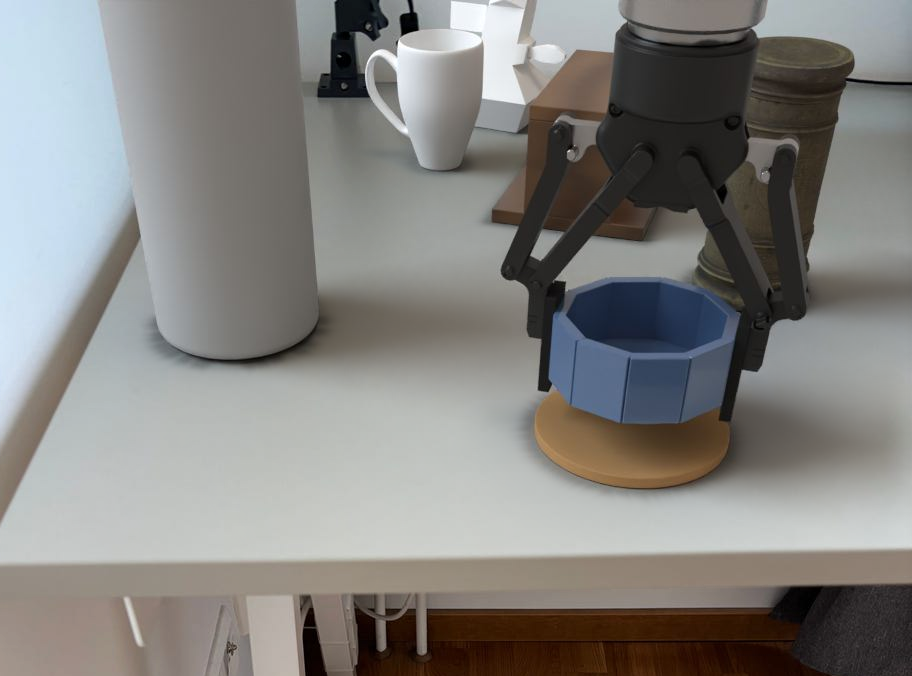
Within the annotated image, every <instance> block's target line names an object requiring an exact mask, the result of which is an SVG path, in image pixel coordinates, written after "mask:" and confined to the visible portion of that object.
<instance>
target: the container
mask: <svg viewBox="0 0 912 676" xmlns="http://www.w3.org/2000/svg"><path fill="white" fill-rule="evenodd" d="M758 38H759V40H760V44H759V50H758V55H757V61H756V66H755V71H754V77H753V82H752V88H751V93H750V99H749V104H748V110H747V115H746V123H747V129H748V132H749V134H750V137H753V138H763V139H773V140H779V139H780V138H781V137H782V136H784V135H786V134H793V135H795V136H796V137H798V139H799V141H800V147H799V152H798V156H797V161H796V166H795V170H794V175H793V181H794V188H795V195H796V202H797V208H798V215H799V222H800V229H801V236H802V243H803V250H804V257H805V264H806V270H807V274H808V273H809V271H810V262H809V259H808V253H809V249H810V246H811V240H812V238H813V236H814V233H815V223H814V222H815V218H816V213H817V209H818V205H819V199H820V196H821V195H820V194H821V190H822V185H823V181H824V177H825V173H826V169H827V165H828V161H829V157H830V151H831V147H832V143H833V140H834V135H835V130H836V125H837V124H838V122H839V120H840V118H839V108H840V104H841V100H842V99H841V98H842V95H843V93H844V90H845V89H846V88H847V85H848V83H847V79H846V78H848V77H850V76H851V74H852V73H853V71H854V70H855V65H856V59H855V54H854V52H853V51H852V50H851V49H850V48H849V47H847V46H845V45H843V44H840V43H837V42H834V41H830V40H826V39H822V38H821V39H820V38H814V37H807V36H789V35H788V36H787V35H785V36H781V35H779V36H776V35H775V36H763V37H758ZM726 182H727V184H728V187H729V189H730V191H731V193H732V196H733V201H734V205H735V207H736V210H737V212H738V214H739V216H740V218H741V221H742V223H743V225H744V227H745V229H746V232H747V234H748V236H749V238H750V240H751V243H752V245H753V247H754V249H755V251H756V254H757V256H758V258H759V260H760V262H761V265H762V267H763V269H764V271H765V273H766V276H767V278H768V280H769V282H770V284H771V287H772V289H773V291H774V292H778V291H782V290H781V283H780V277H779V271H778V265H777V258H776V252H775V246H774V240H773V233H772V227H771V221H770V215H769V208H768V199H767V193H768V184H765V183H761V182H760V181H759V180H758V179H757V177H756V169H755V167H754V165H753V164H752V163H750V162H747V161H744V163H743V164H742V165H741V166H740V167H739V168H738V169H737V170H736V171H735V172H734V173H733V174H732V175H731V176H730V178H729V179H728V180H727V181H726ZM696 261H697V265H696V266H695V268H694V270H693V273H692V279H691V280H692V285H694V286H697V287H701V288H704V289H708V290H711V291H712V292H714V293H716V294H717V295H718V296H719V297H720V298H721V299H723V300H724V301H725V302H726V303H727V304H728V305H730V306H731V307H732V308H733V309H734V310H735V311H736V312H741V311H742V307H746V306H745V304H744V302H743V300H742V298H741V296H740V294H739V292H738V289H737V287H736V285H735V283H734V281H733V279H732V277H731V275H730V272H729V270H728V268H727V266H726V264H725V262H724V260H723V258H722V256H721V253H720V251H719V249H718V247H717V245H716V243H715V241H714V239H713V236H712V234H711V232H710V230H709V229H707V228H706V235H705V240H704V245H703V246H702V248H701V250H699V252H698V254H697V258H696Z"/></svg>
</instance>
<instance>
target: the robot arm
mask: <svg viewBox="0 0 912 676" xmlns="http://www.w3.org/2000/svg"><path fill="white" fill-rule="evenodd" d="M768 1H769V0H618V5H617V10H618V12H619V14H620V16H621V17H622V18H623V19H624V20H625V21H626V22H624V23H623V24H622V25H621V26H620V28H619V29H618V30H617V31H616V32H615V36H614V44H613V53H614V54H613V63H612V73H611V83H610V92H609V102H608V108H607V112H606V115H605V117H604V119H603V120H602V122H598V121H589V120H580V119H578V118H577V116H576V115H575V114H574V113H573V112H570V111H566V112H563V113H562V114H561V115H560V116H559V118H558V119H557V120H556V121H555V123H554V124H553V126H552V127H551V128H550V130H549V133H548V142H547V155H546V165H545V168H544V170H543V172H542V174H541V177H540V179H539V181H538V184H537V186H536V188H535V191H534V193H533V195H532V197H531V200H530V202H529V204H528V207H527V209H526V211H525V213H524V216H523V218H522V220H521V223H520V225H518V228H517V230H516V232H515V235H514V237H513V239H512V241H511V244H510V246H509V248H508V250H507V252H506V255H505V257H504V259H503V261H502V264H501V267H500V269H499V271H500V275H501V276H502V278H503V279H505V280H506V281H510V282H511V281H512V282H513V281H516V282H518V283H519V284H521V285H523V286H524V287H525V288H526V290H527V292H528V299H527V301H528V302H527V316H526V333H527V336H528V338H530V339H536V340H537V339H538V340H540V351H539V352H540V353H539V365H538V366H539V367H538V380H537V391H538V392H543V393H550V390H551V388H552V386H553V384H552V383H551V381H550V380H549V364H550V351H551V338H552V324H553V315H554V313H555V312H556V310H557V308H558V306H559V304H560V302H561V301H562V299H563V297H564V295H565V293H566V288H567V281H564V280H556V279H557V278H558V276H560V274H561V273H562V272H563V270H565V268H566V267H568V265H569V264H570V262H571V261H572V260H573V259H574V258H575V257H576V255H577V254H578V253H579V252H580V250H582V249H583V247H584V246H585V245H586V243H587V242H588V241H589V240H590V239H591V238H592V236H593V234H594V233H595V232H596V230H597V229H598V228H599V227H600V226H601V224H602V223H603V222H604V221H605V220H606V219H607V217H609V216H610V215H611V214H612V213H613V211H614V210H615V209H616V208H617V207H618V206H619V204H620V203H621V202H622V201H623V200H624V199H625V198H626V199H628V200H629V201H630V202H632V203H634V207H639V208H653V207H657V208H660V207H661V208H664V209H666V210H669V211H672V212H674V213H681V214H688V212H689V211H691V210H695V209H696V212H697V213H698V215H699V218H700V219H701V221H702V223H703V226H704V227H705V228H706V230H707V229H709V230H710V232H711V234H712V236H713V239H714V241H715V243H716V245H717V247H718V249H719V251H720V253H721V256H722V258H723V260H724V262H725V264H726V266H727V268H728V270H729V272H730V275H731V277H732V279H733V281H734V283H735V285H736V287H737V289H738V292H739V294H740V296H741V298H742V300H743V302H744V304H745V306H746V307H742V311H740V319H739V322H738V326H737V331H736V336H735V343H734V348H733V353H732V358H731V363H730V368H729V373H728V378H727V383H726V388H725V393H724V398H723V403H722V405H721V406H720V410H719V411H720V415H719V420H718V421H724V422H727V423H731V420H732V417H733V413H734V409H735V405H736V401H737V396H738V391H739V385H740V381H741V377H742V373H743V372H742V371H746V372H747V371H748V372H753V373H758V372H759V371H760V369H761V368H762V366H763V363H764V359H765V354H766V350H767V346H768V345H767V344H768V342H769V337H770V333H771V329H772V328H773V326H774V325H775V324H776V323H777V322H780V321H783V320H791V321H793V322H795V321H797V322H799V321H800V320H803V318H805V317H806V315H807V312H808V305H809V299H810V293H811V292H810V291H811V290H810V285H809V278H808V273H807V270H806V264H805V257H804V250H803V243H802V236H801V229H800V222H799V215H798V208H797V202H796V195H795V188H794V181H793V175H794V170H795V166H796V161H797V156H798V152H799V147H800V141H799V139H798V137H796V136H795V135H793V134H786V135H784V136H782V137H781V138H780V139H779V140H773V139H763V138H753V137H750V134H749V132H748V129H747V123H746V115H747V110H748V104H749V99H750V93H751V88H752V82H753V77H754V71H755V66H756V61H757V55H758V50H759V44H760V40H759V38H760V37H758V34H757V32H756V31H755V30H754V29H753V28H754V27H756V26H757V25H759V24H760V23H761V22H762V21H763V20H764V19H765V17H766V13H767V12H766V11H767V8H768V7H767V6H768V3H769V2H768ZM591 145H596V146H597V148H598V150H599V152H600V154H601V156H602V158H603V159H604V161H605V163H606V165H607V167H608V169H609V171H610V172H611V174H612V175H611V176H610V177H609V179H608V180H607V181H606V182H605V184H604V185H603V186H602V188H601V189H600V190H599V192H598V193H597V194H596V195H595V196H594V198H593V199H592V200H591V201H590V202H589V204H588V205H587V206H586V207H585V209H584V210H583V211H582V212H581V213H580V215H579V216H578V217H577V218H576V219H575V221H574V222H573V223H572V224H571V226H570V227H569V228H568V229H567V230H566V231H564V232H563V234H562V235H561V236H560V238H559V239H558V240H557V241H556V243H555V244H553V246H552V247H551V248H550V250H549V251H548V252H547V253H546V255H545V256H544V257H543V258H541V259H538V258H537V257H536V258H535V257H534V256H532V254H533V251H534V249H535V247H536V244H537V243H538V240H539V238H540V235H541V233H542V231H543V230H544V228H543V227H544V224H545V222H546V220H547V218H548V216H549V213H550V211H551V209H552V207H553V205H554V202H555V200H556V198H557V196H558V194H559V191H560V189H561V187H562V185H563V183H564V180H565V178H566V176H567V174H568V172H569V169H570V167H571V164H572V162H576V161H579V160H580V159H581V158H582V157H583V155H584V154H585V152H586V150H587V147H589V146H591ZM744 161H747V162H750V163H752V164H753V165H754V167H755V169H756V177H757V179H758V180H759V181H760V182H761V183H765V184H768V193H767V199H768V208H769V215H770V221H771V227H772V233H773V240H774V246H775V252H776V258H777V265H778V271H779V277H780V283H781V290H782V291H778V292H774V291H773V289H772V287H771V284H770V282H769V280H768V278H767V276H766V273H765V271H764V269H763V267H762V265H761V262H760V260H759V258H758V256H757V254H756V251H755V249H754V247H753V245H752V243H751V240H750V238H749V236H748V234H747V232H746V229H745V227H744V225H743V223H742V221H741V218H740V216H739V214H738V212H737V210H736V207H735V205H734V201H733V196H732V193H731V191H730V189H729V187H728V184H727V182H726V181H727V180H728V179H729V178H730V176H731V175H732V174H733V173H734V172H735V171H736V170H737V169H738V168H739V167H740V166H741V165H742V164H743V163H744Z"/></svg>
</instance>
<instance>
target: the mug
mask: <svg viewBox="0 0 912 676" xmlns="http://www.w3.org/2000/svg"><path fill="white" fill-rule="evenodd" d="M396 52H397V56H396V55H395V54H394V53H392V52H391V51H389V50H387V49H377V50H376V51H374V52H373V53H372V54H371V55H370V57H368V60H367V63H366V64H365V65H366V66H365V70H364V71H365V72H364V76H365V77H364V79H365V86H366V90H367V93H368V96H369V97H370V99H371V101H372V102H373V104H374V105H375V107H376V108H377V109H378V110H379V111H380V112H381V114H382V115H383V116H384V117H385V118H386V119H387V121H388V122H389V123H391V124H392V126H393V127H394V128H395V129H396V130H397V131H399V133H401V134H402V135H404V136H405V137H407V138H408V139H410V141H411V144H412V147H413V149H414V153H415V155H416V158H417V162H418V163H419V165H420V166H421V167H422V168H424V169H427V170H432V171H440V172H441V171H450V170H454V169H457V168H458V167H460V166H461V164H462V162H463V159H464V157H465V153H466V151H467V149H468V146H469V143H470V140H471V137H472V134H473V132H474V130H475V127H476V126H475V124H476V121H477V118H478V114H479V111H480V106H481V101H482V92H483V64H484V44H483V40H482V39H481V36H479V35H478V34H476V33H473V32H471V31H466V30H459V29H451V28H449V29H448V28H432V29H430V28H429V29H421V30H417V31H412V32H408V33H406V34H403V35H402V36H401V37H399V39H398V42H397V51H396ZM378 58H382V59H384V60H385V61H386V62H387V63H388V64H390V66H391V67H392V69H393V70H394V72H395V73H396V85H397V95H398V102H399V107H400V111H401V115H402V118H403V122H402V120H401V119H400V118H399V117H398V115H396V114H395V113H394V112H393V110H392V109H391V108H390V107H389V106H388V104H386V103H385V101H384V100H383V98H382V97H381V95H380V93H379V92H378V89H377V86H376V82H375V76H374V75H375V73H374V69H375V68H374V67H375V63H376V61H377V59H378Z"/></svg>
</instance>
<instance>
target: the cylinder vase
mask: <svg viewBox="0 0 912 676" xmlns="http://www.w3.org/2000/svg"><path fill="white" fill-rule="evenodd" d="M296 1H297V0H97V6H98V11H99V17H100V22H101V28H102V33H103V38H104V39H103V40H104V44H105V49H106V54H107V60H108V67H109V69H110V70H109V71H110V77H111V82H112V87H113V91H114V98H115V102H116V109H117V115H118V119H119V124H120V130H121V136H122V141H123V147H124V152H125V157H126V163H127V168H128V174H129V179H130V184H131V189H132V195H133V201H134V206H135V211H136V217H137V223H138V228H139V233H140V238H141V244H142V249H143V255H144V261H145V265H146V271H147V277H148V281H149V282H148V283H149V287H150V293H151V297H152V304H153V308H154V315H155V318H156V319H155V320H156V324H157V328H158V331H159V333H160V334H161V336H162V337H163V339H165V340H166V342H167V343H169V344H170V345H171V346H173V347H174V348H176V349H178V350H179V351H182V352H184V353H187V354H188V355H189V354H190V355H192V356H196V357H201V358H205V359H213V360H227V361H228V360H234V361H235V360H248V359H254V358H261V357H265V356H270V355H274V354H276V353H279V352H282V351H285V350H287V349H289V348H291V347H293V346H295V345H296V344H298V343H300V342H301V341H303V340H304V339H305V338H306V337H308V336H309V335H310V333H312V331H313V330H314V329H315V327H316V325H317V323H318V320H319V317H320V305H319V291H318V279H317V266H316V264H317V263H316V253H315V252H316V251H315V237H314V226H313V212H312V198H311V197H312V196H311V188H310V187H311V186H310V185H311V183H310V173H309V171H310V170H309V159H308V146H307V132H306V120H305V118H306V117H305V107H304V94H303V79H302V68H301V67H302V66H301V53H300V52H301V51H300V42H299V39H300V38H299V28H298V14H297V2H296Z"/></svg>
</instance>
